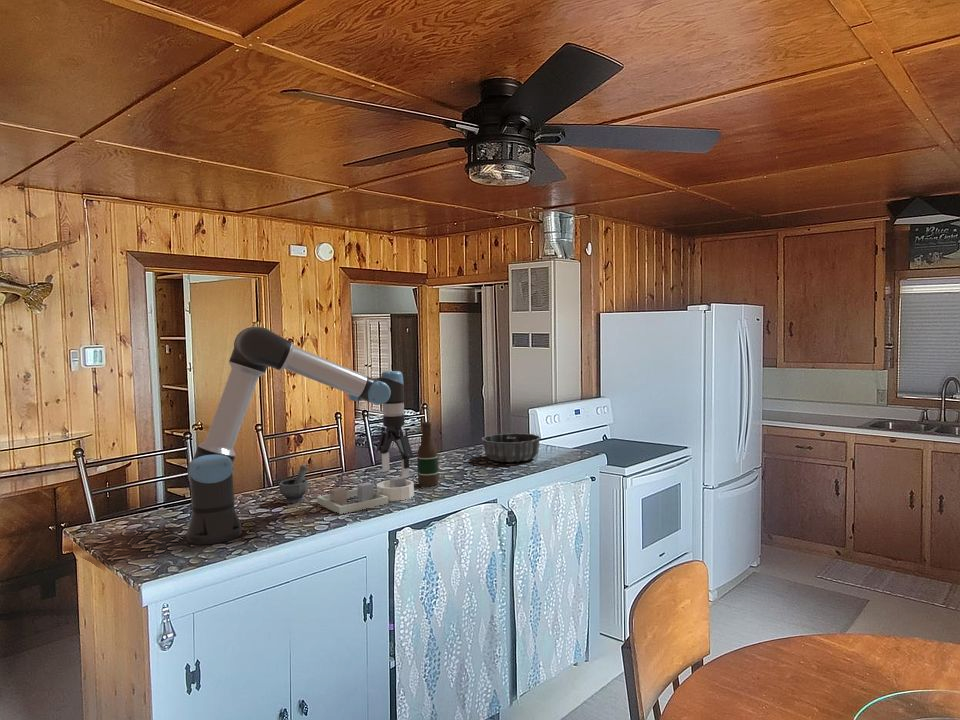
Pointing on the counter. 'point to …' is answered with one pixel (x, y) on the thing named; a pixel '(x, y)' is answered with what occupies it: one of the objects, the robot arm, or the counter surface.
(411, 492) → the bowl
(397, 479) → the grey rectangular block
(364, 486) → the light grey cuboid
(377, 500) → the square frame
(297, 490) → the mortar and pestle
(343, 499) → the taupe block
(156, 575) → the counter surface
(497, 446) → the bundt pan
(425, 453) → the beer bottle
